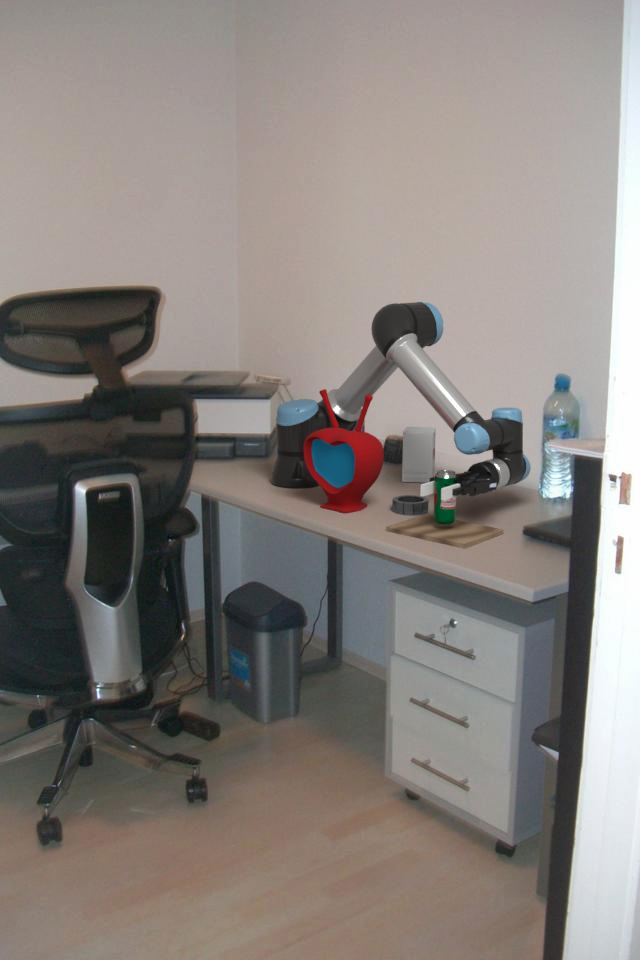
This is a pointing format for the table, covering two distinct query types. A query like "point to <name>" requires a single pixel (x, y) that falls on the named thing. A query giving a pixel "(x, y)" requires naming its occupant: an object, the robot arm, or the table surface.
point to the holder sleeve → (410, 505)
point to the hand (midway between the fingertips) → (432, 492)
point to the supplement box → (418, 454)
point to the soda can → (444, 508)
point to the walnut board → (445, 531)
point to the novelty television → (344, 461)
